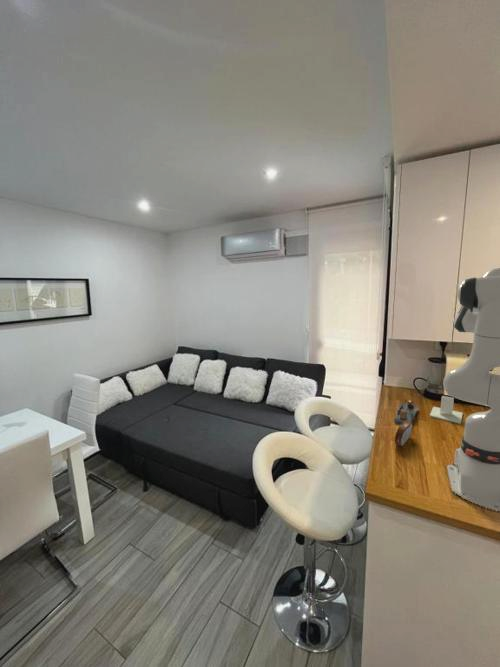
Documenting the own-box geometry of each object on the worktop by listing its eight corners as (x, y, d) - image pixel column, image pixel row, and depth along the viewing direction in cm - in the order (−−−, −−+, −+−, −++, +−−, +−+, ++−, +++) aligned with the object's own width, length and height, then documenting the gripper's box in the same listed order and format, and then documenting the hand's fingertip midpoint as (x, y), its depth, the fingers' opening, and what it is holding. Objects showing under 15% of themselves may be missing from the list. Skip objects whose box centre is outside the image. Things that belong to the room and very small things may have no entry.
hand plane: (409, 426, 132) (410, 414, 131) (394, 422, 137) (394, 410, 136) (418, 410, 149) (418, 399, 148) (403, 407, 153) (404, 396, 152)
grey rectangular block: (451, 416, 139) (453, 400, 137) (439, 414, 142) (441, 398, 141) (452, 413, 142) (453, 397, 140) (440, 411, 145) (442, 395, 144)
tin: (405, 433, 127) (406, 417, 125) (412, 436, 124) (414, 419, 123) (393, 447, 117) (394, 429, 115) (401, 450, 114) (402, 431, 113)
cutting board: (460, 424, 133) (461, 422, 133) (429, 416, 142) (429, 415, 141) (462, 414, 143) (462, 412, 143) (433, 407, 151) (433, 406, 151)
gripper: (478, 335, 137) (473, 362, 140) (478, 340, 122) (472, 370, 124) (495, 337, 133) (489, 364, 136) (496, 343, 118) (490, 373, 120)
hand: (481, 367), depth 130 cm, fingers open, 8 cm apart
